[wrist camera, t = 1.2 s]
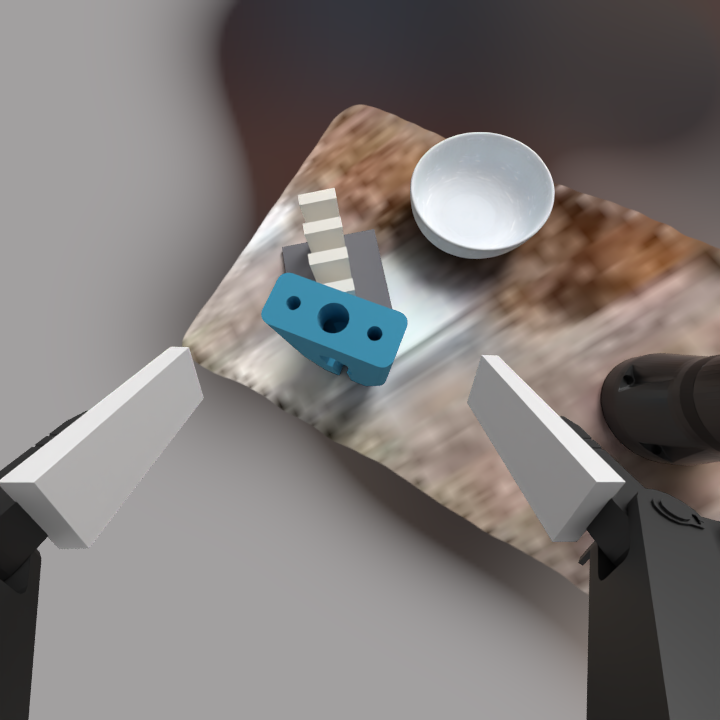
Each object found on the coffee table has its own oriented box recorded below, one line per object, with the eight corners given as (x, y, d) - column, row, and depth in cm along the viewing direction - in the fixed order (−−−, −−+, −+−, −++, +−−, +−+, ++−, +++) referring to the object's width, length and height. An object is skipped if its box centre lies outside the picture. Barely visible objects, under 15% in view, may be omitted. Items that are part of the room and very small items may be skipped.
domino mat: (394, 323, 43) (395, 321, 42) (297, 342, 43) (295, 341, 43) (373, 232, 47) (374, 229, 46) (283, 250, 47) (282, 247, 46)
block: (393, 362, 42) (410, 316, 22) (381, 392, 41) (389, 371, 22) (323, 335, 43) (282, 269, 24) (310, 363, 43) (257, 319, 23)
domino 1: (344, 244, 46) (336, 197, 36) (315, 250, 46) (299, 205, 36) (342, 236, 46) (334, 187, 36) (313, 242, 46) (297, 195, 36)
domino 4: (358, 318, 43) (354, 289, 33) (328, 324, 43) (314, 297, 33) (357, 309, 43) (352, 278, 33) (326, 315, 43) (313, 285, 33)
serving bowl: (526, 171, 48) (551, 131, 41) (530, 278, 44) (559, 253, 37) (408, 167, 49) (414, 127, 43) (401, 271, 45) (407, 246, 38)
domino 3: (353, 292, 44) (348, 257, 34) (323, 298, 44) (309, 265, 34) (352, 284, 44) (346, 246, 34) (322, 289, 44) (307, 254, 34)
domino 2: (348, 268, 45) (342, 226, 35) (319, 274, 45) (304, 234, 35) (347, 259, 45) (340, 216, 35) (317, 265, 45) (302, 223, 35)
